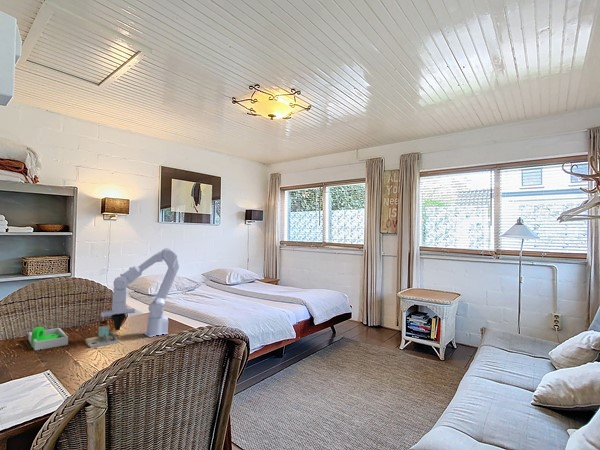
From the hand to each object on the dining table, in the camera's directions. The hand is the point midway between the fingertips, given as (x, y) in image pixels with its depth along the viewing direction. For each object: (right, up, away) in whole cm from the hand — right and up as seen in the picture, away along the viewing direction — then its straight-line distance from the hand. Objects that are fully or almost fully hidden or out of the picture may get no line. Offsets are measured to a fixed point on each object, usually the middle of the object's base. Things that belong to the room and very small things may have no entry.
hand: (117, 329), depth 157 cm
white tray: (-26, -3, -10) cm, 28 cm away
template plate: (-1, -4, -9) cm, 10 cm away
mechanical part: (-26, -3, -10) cm, 28 cm away
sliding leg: (-3, -2, -6) cm, 7 cm away
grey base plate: (-3, -4, -6) cm, 8 cm away
